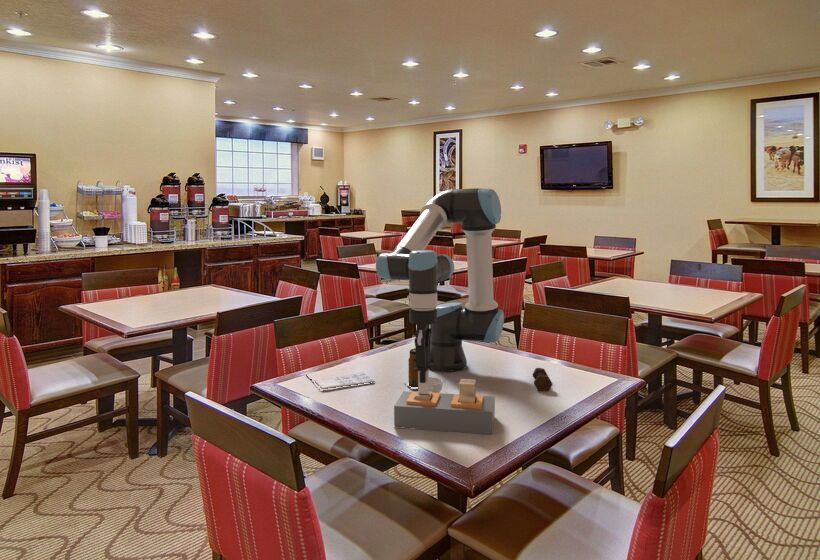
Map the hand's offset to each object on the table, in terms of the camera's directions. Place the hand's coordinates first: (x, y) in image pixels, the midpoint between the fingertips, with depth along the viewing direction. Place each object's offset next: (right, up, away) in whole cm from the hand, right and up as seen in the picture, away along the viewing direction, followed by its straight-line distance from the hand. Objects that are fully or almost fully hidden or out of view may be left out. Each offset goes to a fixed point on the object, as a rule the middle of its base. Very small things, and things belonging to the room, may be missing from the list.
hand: (423, 392), depth 151 cm
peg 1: (0, -7, +1) cm, 7 cm away
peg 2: (+12, -3, -2) cm, 12 cm away
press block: (+6, -8, 0) cm, 10 cm away
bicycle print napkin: (-28, -4, +39) cm, 48 cm away
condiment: (-1, -4, +31) cm, 31 cm away
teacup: (+3, -5, +22) cm, 23 cm away
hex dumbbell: (+40, -4, +32) cm, 51 cm away
